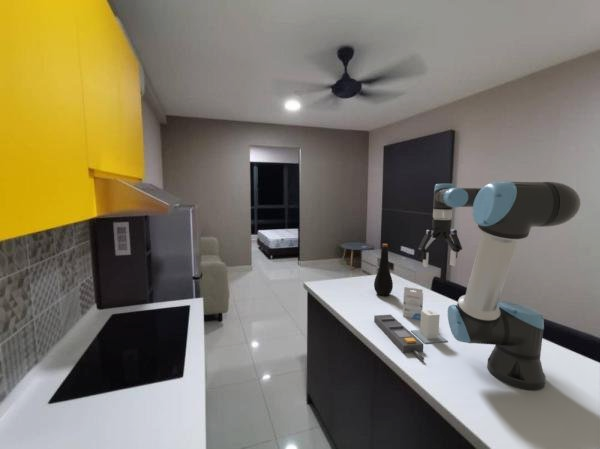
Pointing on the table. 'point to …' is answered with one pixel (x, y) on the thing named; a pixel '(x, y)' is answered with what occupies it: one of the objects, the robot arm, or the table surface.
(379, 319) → the power strip
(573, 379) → the table surface
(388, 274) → the bottle
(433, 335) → the block
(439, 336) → the mat
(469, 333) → the robot arm
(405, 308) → the ink box
